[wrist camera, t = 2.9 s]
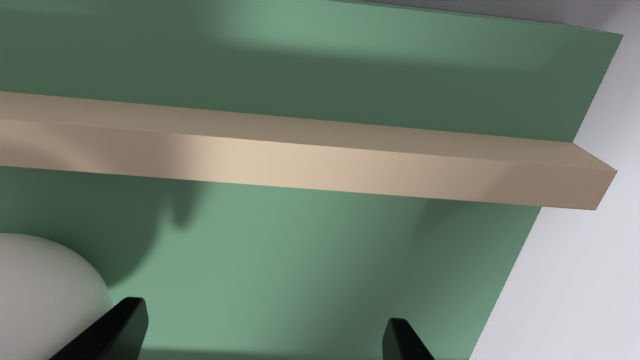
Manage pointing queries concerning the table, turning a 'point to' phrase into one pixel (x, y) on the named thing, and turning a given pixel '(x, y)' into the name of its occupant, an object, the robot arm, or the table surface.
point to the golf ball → (45, 297)
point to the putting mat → (293, 162)
